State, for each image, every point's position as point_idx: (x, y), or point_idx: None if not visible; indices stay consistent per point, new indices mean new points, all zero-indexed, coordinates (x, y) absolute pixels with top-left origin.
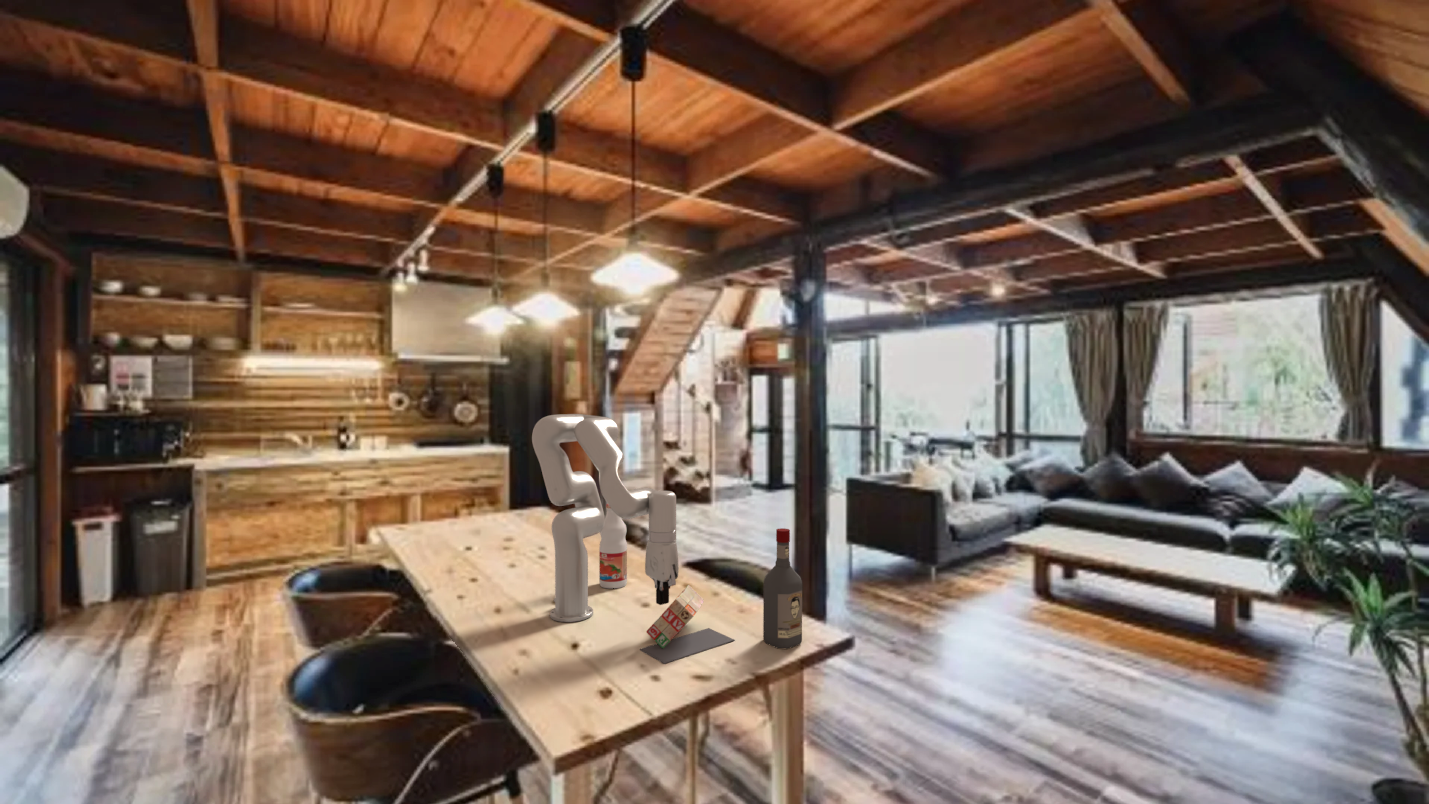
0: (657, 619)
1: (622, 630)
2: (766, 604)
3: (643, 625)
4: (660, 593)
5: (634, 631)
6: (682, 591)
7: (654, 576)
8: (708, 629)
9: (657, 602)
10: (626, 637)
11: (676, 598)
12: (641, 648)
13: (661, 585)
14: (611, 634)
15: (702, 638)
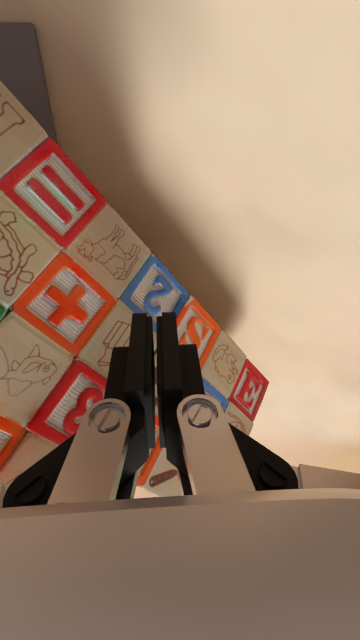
0: (6, 196)
1: (338, 130)
2: None
3: (299, 250)
4: (128, 378)
5: (278, 175)
6: (149, 479)
7: (131, 547)
8: None
9: (163, 318)
10: (247, 84)
11: (68, 417)
12: (34, 39)
13: (92, 450)
14: (351, 29)
15: None
